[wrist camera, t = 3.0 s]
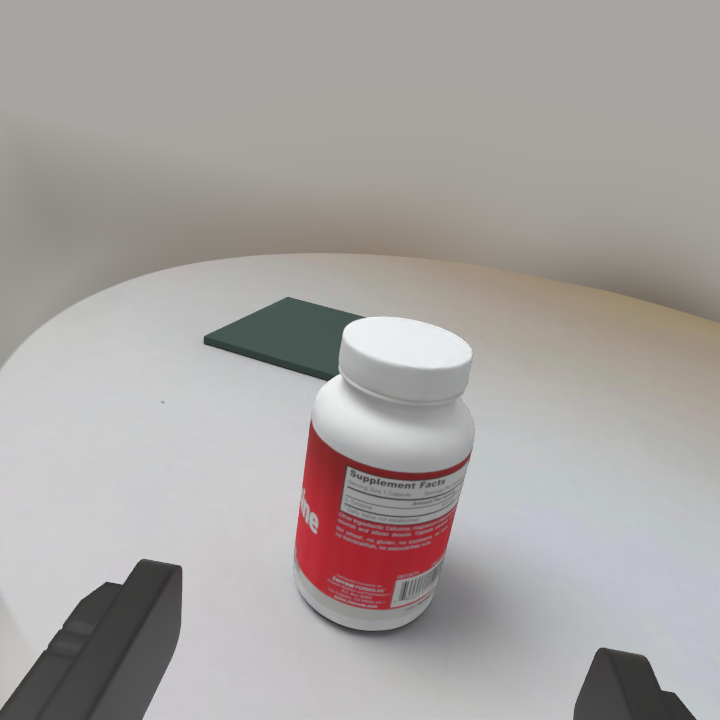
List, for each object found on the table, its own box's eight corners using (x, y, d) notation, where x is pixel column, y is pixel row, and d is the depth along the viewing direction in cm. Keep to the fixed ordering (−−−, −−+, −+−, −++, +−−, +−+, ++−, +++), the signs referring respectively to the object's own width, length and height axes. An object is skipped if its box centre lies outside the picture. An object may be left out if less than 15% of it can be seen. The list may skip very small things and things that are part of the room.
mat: (203, 343, 45) (203, 336, 45) (287, 302, 58) (287, 296, 57) (369, 393, 41) (370, 385, 41) (420, 338, 54) (422, 331, 53)
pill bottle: (310, 517, 28) (341, 299, 24) (436, 546, 27) (490, 327, 23) (272, 617, 22) (302, 352, 18) (430, 656, 22) (500, 392, 17)
